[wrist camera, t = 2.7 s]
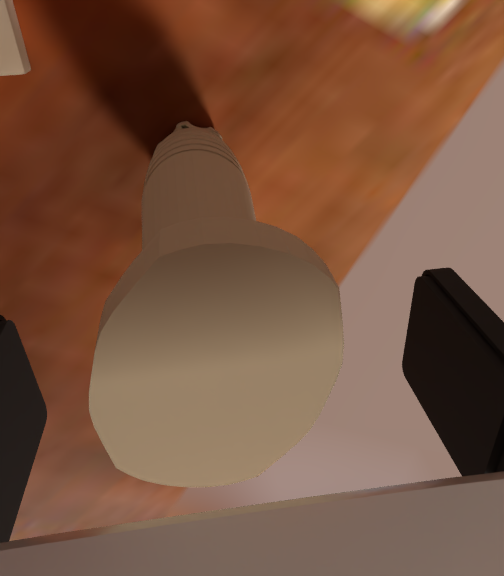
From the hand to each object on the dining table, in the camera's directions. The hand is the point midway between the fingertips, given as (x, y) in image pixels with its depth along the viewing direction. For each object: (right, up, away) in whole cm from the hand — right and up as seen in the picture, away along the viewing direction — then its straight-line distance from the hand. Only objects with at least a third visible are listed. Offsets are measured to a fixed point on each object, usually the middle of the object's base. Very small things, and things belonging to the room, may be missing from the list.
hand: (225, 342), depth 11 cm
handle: (-2, +8, +11) cm, 13 cm away
